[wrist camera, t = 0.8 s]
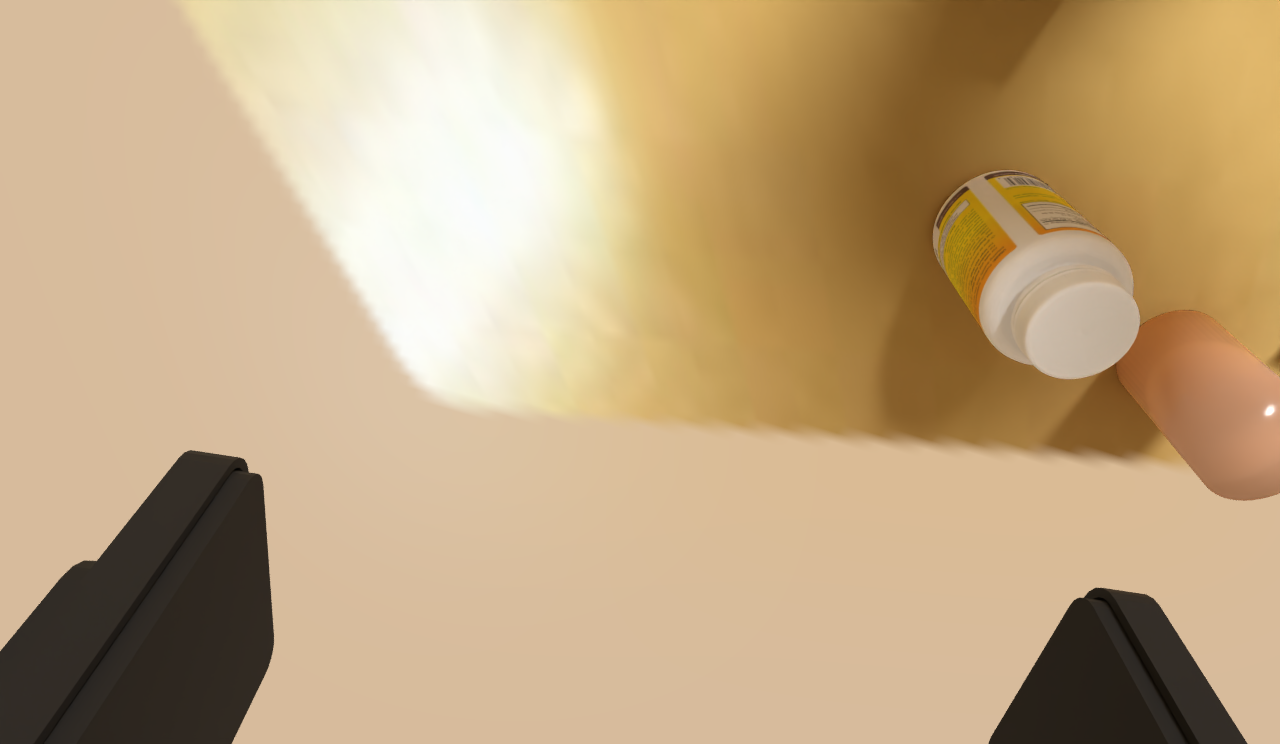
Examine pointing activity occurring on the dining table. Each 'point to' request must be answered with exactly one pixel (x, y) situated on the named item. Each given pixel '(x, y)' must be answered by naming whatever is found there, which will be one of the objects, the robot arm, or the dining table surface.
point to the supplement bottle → (1037, 275)
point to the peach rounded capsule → (1208, 401)
